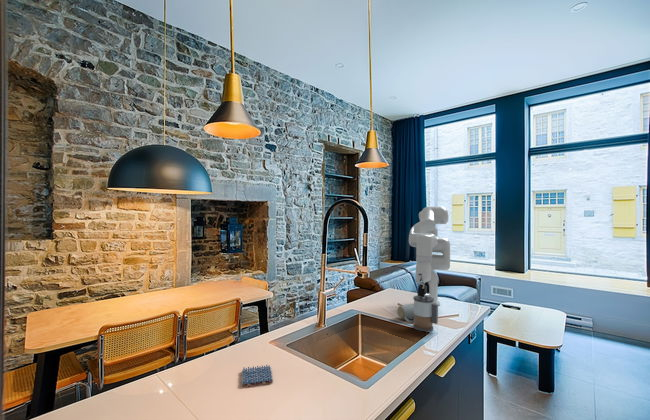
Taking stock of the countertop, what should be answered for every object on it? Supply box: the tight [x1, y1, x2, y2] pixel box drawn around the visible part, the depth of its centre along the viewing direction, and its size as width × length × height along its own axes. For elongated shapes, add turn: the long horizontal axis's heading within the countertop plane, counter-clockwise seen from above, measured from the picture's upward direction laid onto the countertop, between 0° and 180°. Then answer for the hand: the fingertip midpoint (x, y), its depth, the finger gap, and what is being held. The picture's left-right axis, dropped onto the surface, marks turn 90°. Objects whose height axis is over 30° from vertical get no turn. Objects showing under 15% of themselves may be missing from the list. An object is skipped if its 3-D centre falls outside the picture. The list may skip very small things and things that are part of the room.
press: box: [412, 294, 439, 332], centre depth 147 cm, size 10×12×15 cm
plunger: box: [416, 285, 430, 299], centre depth 147 cm, size 6×6×13 cm
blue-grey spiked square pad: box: [240, 364, 274, 389], centre depth 100 cm, size 10×11×2 cm
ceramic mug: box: [396, 303, 414, 324], centre depth 158 cm, size 11×8×8 cm
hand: (423, 294), depth 147 cm, fingers closed on plunger, 5 cm apart
